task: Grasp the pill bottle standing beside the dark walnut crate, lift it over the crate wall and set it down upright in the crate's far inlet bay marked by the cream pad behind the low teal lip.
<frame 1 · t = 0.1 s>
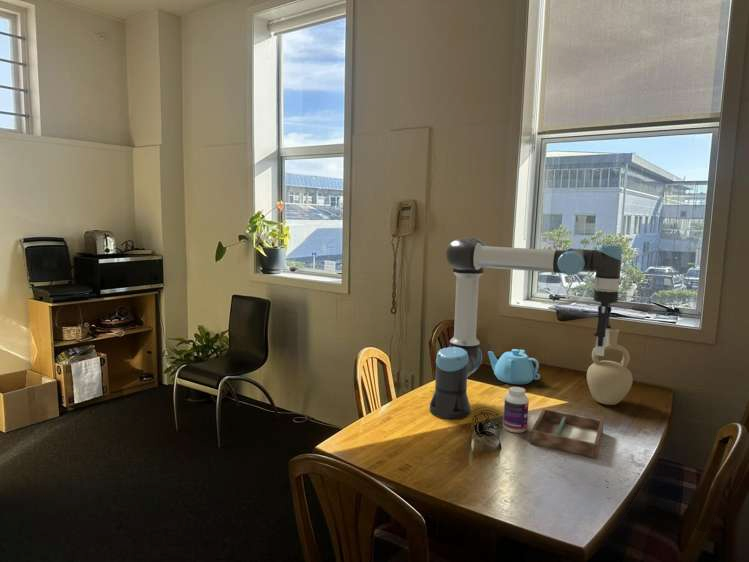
hand: (601, 350, 175), 28 cm above the table, fingers open, 13 cm apart
vase: (607, 402, 204), on the table
pill bottle: (514, 429, 176), on the table
teapot: (512, 379, 230), on the table
crate: (567, 438, 170), on the table
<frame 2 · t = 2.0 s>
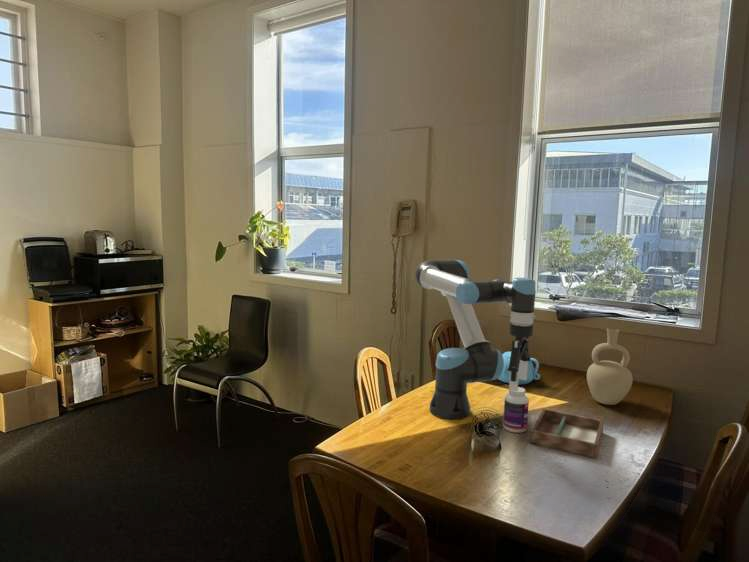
hand: (518, 384, 174), 16 cm above the table, fingers open, 13 cm apart
nothing on the table moved.
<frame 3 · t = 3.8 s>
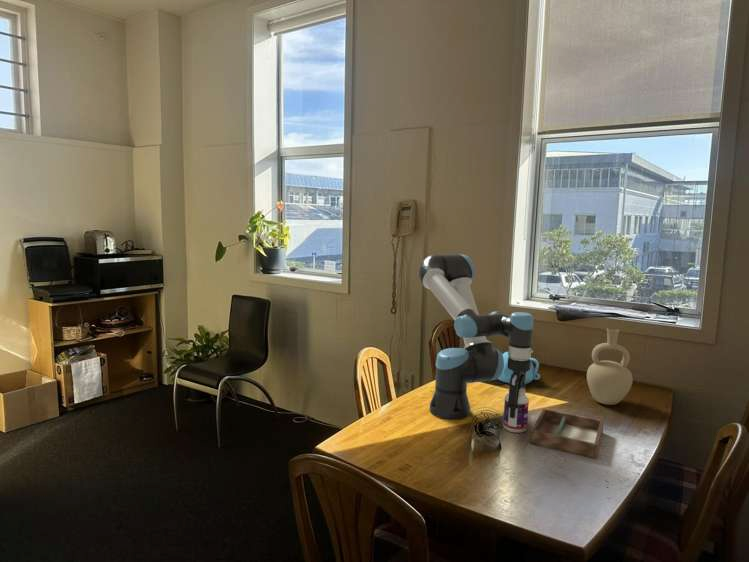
hand: (515, 421, 176), 3 cm above the table, fingers closed on pill bottle, 8 cm apart
pill bottle: (514, 429, 176), on the table, touching gripper
everything else where it was.
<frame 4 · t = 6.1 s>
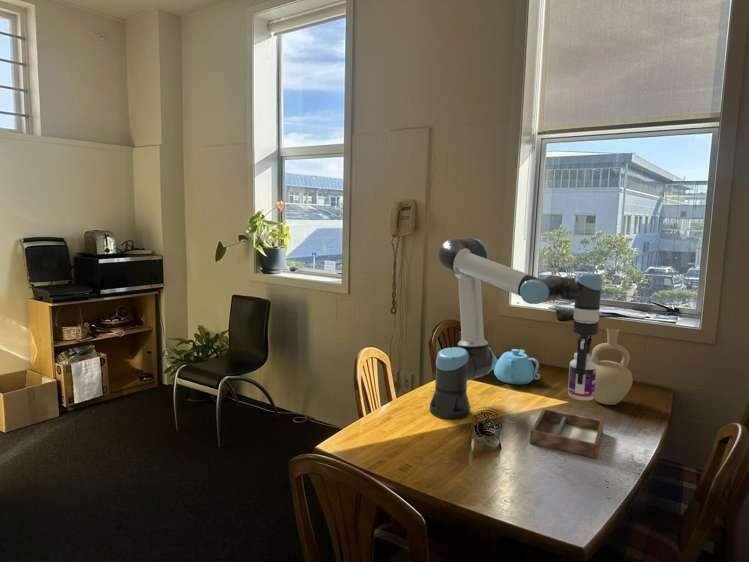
hand: (581, 389, 166), 18 cm above the table, fingers closed on pill bottle, 8 cm apart
pill bottle: (580, 397, 166), point 15 cm above the table, touching gripper
everything else where it was.
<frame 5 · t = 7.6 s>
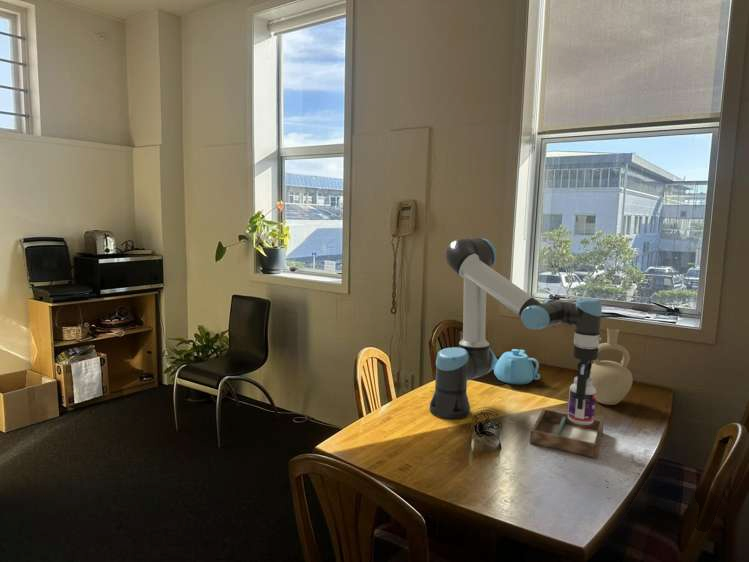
hand: (581, 413, 167), 10 cm above the table, fingers closed on pill bottle, 8 cm apart
pill bottle: (580, 421, 167), point 7 cm above the table, touching gripper
everything else where it was.
when the fingers open (6 cm above the table, at t = 8.8 s): pill bottle drops 2 cm, resting on crate.
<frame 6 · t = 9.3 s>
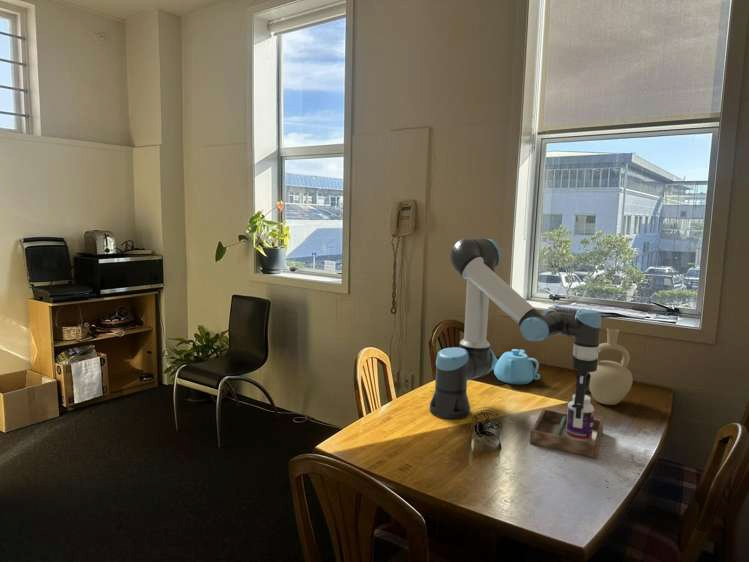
hand: (580, 419, 167), 7 cm above the table, fingers open, 13 cm apart
pill bottle: (578, 439, 168), point 1 cm above the table, touching crate
everything else where it was.
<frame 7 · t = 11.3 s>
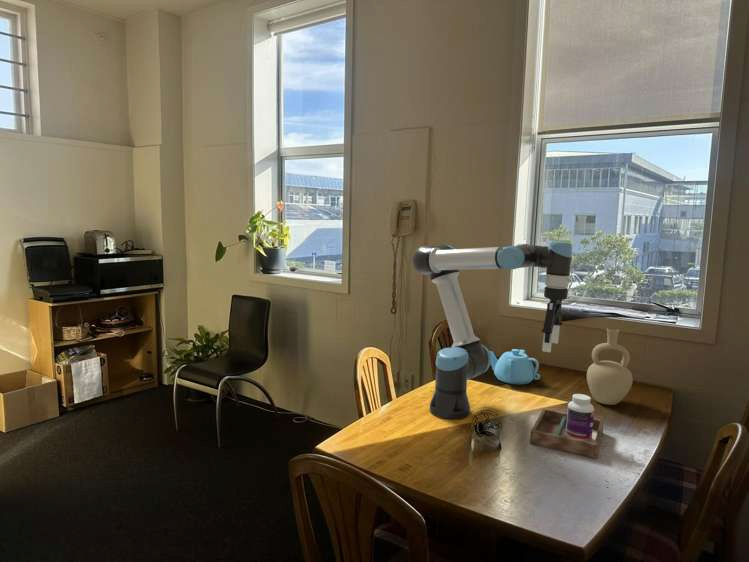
hand: (550, 347, 176), 29 cm above the table, fingers open, 13 cm apart
nothing on the table moved.
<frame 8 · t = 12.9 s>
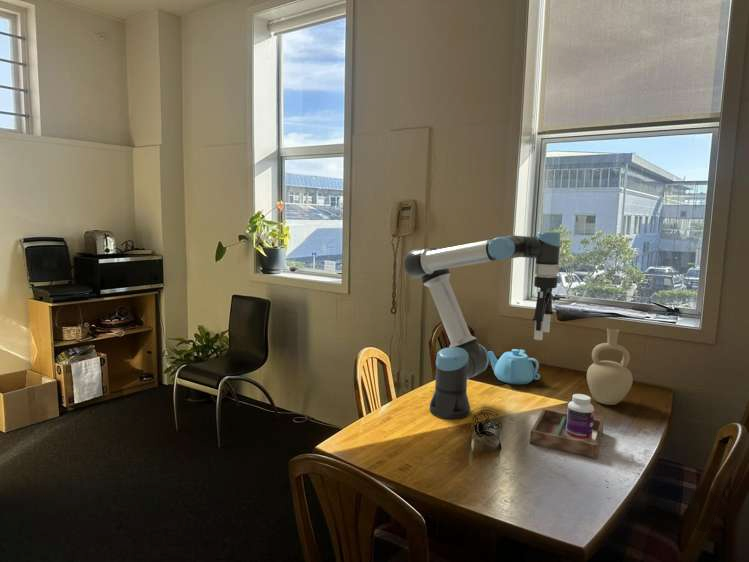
hand: (541, 335, 179), 32 cm above the table, fingers open, 13 cm apart
nothing on the table moved.
at the end: pill bottle inside the target area (0.2 cm from its centre), point 0.6 cm above the table; pill bottle tilted 0°; the gripper is holding nothing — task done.
